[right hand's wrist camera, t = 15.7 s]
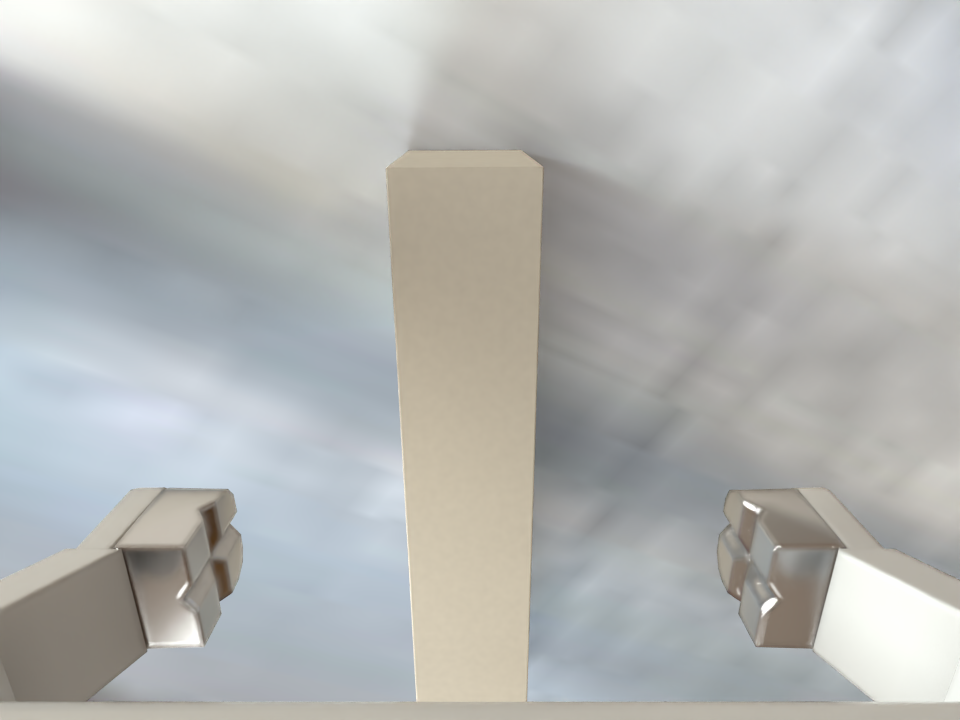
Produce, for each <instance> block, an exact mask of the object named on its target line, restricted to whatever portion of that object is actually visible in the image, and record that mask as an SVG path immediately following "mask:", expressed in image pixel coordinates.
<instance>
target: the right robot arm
mask: <svg viewBox="0 0 960 720" xmlns="http://www.w3.org/2000/svg"><path fill="white" fill-rule="evenodd" d="M236 512H237V509H236V505H235V500H234V495H233V494H232V493H231V492H230V491H229V490H228V489H203V488H136V489H132V490H130V491H129V492H128V493H127V494H126V495H125V497H124V498H123V499H122V500H121V501H120V502H119V503H118V504H117V505H116V506H115V507H114V508H113V509H112V510H111V512H110V513H109V514H108V515H107V516H106V517H105V518H104V519H103V520H102V521H101V522H100V523H99V524H98V526H97V527H96V528H95V529H94V530H93V531H92V532H91V533H90V534H89V535H88V536H87V537H86V538H85V540H84V541H83V542H82V543H81V544H80V545H79V546H78V547H77V548H76V549H64V550H62V551H60V552H58V553H56V554H54V555H52V556H50V557H47V558H45V559H43V560H41V561H39V562H37V563H35V564H33V565H31V566H29V567H26V568H24V569H22V570H20V571H18V572H16V573H14V574H12V575H10V576H8V577H5V578H3V579H1V580H0V720H960V580H959V579H956V578H954V577H952V576H950V575H948V574H946V573H944V572H942V571H940V570H938V569H936V568H933V567H931V566H929V565H927V564H925V563H923V562H921V561H919V560H917V559H915V558H912V557H910V556H908V555H906V554H904V553H902V552H900V551H898V550H896V549H884V548H883V547H882V546H881V545H880V544H879V543H878V542H877V541H876V539H875V538H874V537H873V536H872V535H871V534H870V533H869V532H868V531H867V530H866V529H865V528H864V527H863V525H862V524H861V523H860V522H859V521H858V520H857V519H856V518H855V517H854V516H853V515H852V514H851V513H850V511H849V510H848V509H847V508H846V507H845V506H844V505H843V504H842V503H841V502H840V501H839V500H838V499H837V497H836V496H835V495H834V494H833V493H832V492H831V491H830V490H828V489H825V488H823V487H813V488H791V489H752V490H729V492H728V494H727V496H726V498H725V504H724V509H723V512H724V514H725V516H726V517H727V519H728V521H729V523H730V524H729V525H728V526H727V527H726V528H725V529H724V530H723V531H722V532H721V533H720V534H719V540H718V547H717V559H718V569H719V573H720V576H721V579H722V582H723V584H724V586H725V588H726V590H727V592H728V593H729V594H730V595H732V596H733V597H735V598H736V599H737V600H739V601H740V602H741V603H740V608H739V616H740V618H741V620H742V622H743V623H744V625H745V627H746V629H747V631H748V633H749V635H750V637H751V639H752V641H753V643H754V644H755V646H756V647H776V648H812V649H813V652H814V653H815V654H817V655H818V656H819V657H820V658H822V659H823V660H824V661H825V662H826V663H828V664H829V665H830V666H831V667H833V668H834V669H835V670H836V671H837V672H839V673H840V674H841V675H842V676H844V677H845V678H846V679H847V680H848V681H850V682H851V683H852V684H853V685H855V686H856V687H857V688H858V689H859V690H861V691H862V692H863V693H864V694H866V695H867V696H868V697H869V698H871V699H872V700H873V701H874V702H86V701H87V700H88V699H90V698H91V697H92V696H93V695H95V694H96V693H97V692H98V691H99V690H101V689H102V688H103V687H104V686H106V685H107V684H108V683H109V682H111V681H112V680H113V679H114V678H115V677H117V676H118V675H119V674H120V673H122V672H123V671H124V670H125V669H126V668H128V667H129V666H130V665H131V664H133V663H134V662H135V661H136V660H137V659H139V658H140V657H141V656H142V655H144V654H145V653H146V652H147V649H148V648H182V647H205V645H206V643H207V641H208V639H209V637H210V635H211V633H212V631H213V629H214V627H215V625H216V623H217V622H218V620H219V618H220V616H221V608H220V603H219V602H220V601H221V600H223V599H224V598H225V597H227V596H228V595H230V594H231V593H232V592H233V590H234V588H235V586H236V584H237V582H238V580H239V576H240V572H241V567H242V562H243V545H242V539H241V534H240V533H239V532H238V531H237V530H236V529H235V528H234V527H233V526H232V525H231V524H230V523H231V521H232V519H233V517H234V516H235V514H236Z"/></svg>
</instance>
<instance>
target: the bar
mask: <svg viewBox="0 0 960 720" xmlns="http://www.w3.org/2000/svg"><path fill="white" fill-rule="evenodd" d="M543 174H544V167H543V166H542V165H540V164H539V163H538V162H536V161H535V160H534V159H532V158H531V157H530V156H528V155H527V154H526V153H524V152H523V151H522V150H423V151H407V152H406V153H405V154H404V155H402V156H401V157H400V158H398V159H397V160H396V161H394V162H393V163H392V164H390V165H389V166H388V167H387V168H386V184H387V201H388V218H389V235H390V252H391V270H392V287H393V304H394V321H395V338H396V356H397V373H398V390H399V407H400V424H401V442H402V459H403V476H404V493H405V510H406V528H407V545H408V562H409V579H410V596H411V614H412V631H413V648H414V665H415V682H416V700H417V702H527V684H528V652H529V620H530V588H531V556H532V525H533V493H534V461H535V429H536V397H537V365H538V333H539V302H540V270H541V238H542V206H543Z"/></svg>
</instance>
